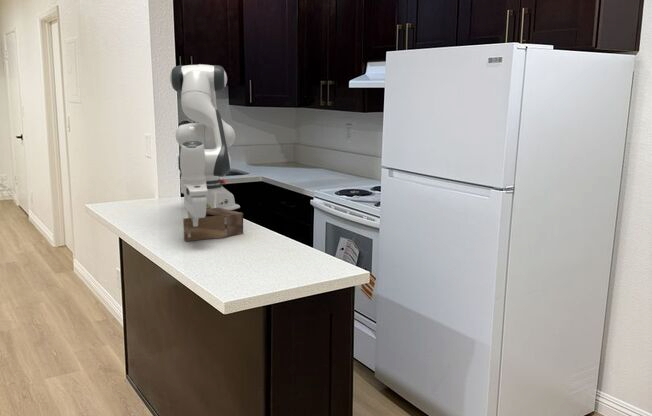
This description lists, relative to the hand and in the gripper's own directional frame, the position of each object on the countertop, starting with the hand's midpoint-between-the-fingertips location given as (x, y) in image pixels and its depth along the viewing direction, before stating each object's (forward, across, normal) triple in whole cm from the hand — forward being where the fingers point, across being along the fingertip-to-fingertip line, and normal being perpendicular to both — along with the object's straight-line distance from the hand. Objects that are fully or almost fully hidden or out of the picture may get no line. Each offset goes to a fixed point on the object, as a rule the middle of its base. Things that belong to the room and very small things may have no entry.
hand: (195, 225), depth 211 cm
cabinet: (+6, -11, +13) cm, 18 cm away
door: (+6, -2, +4) cm, 7 cm away
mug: (+6, -26, +6) cm, 27 cm away
